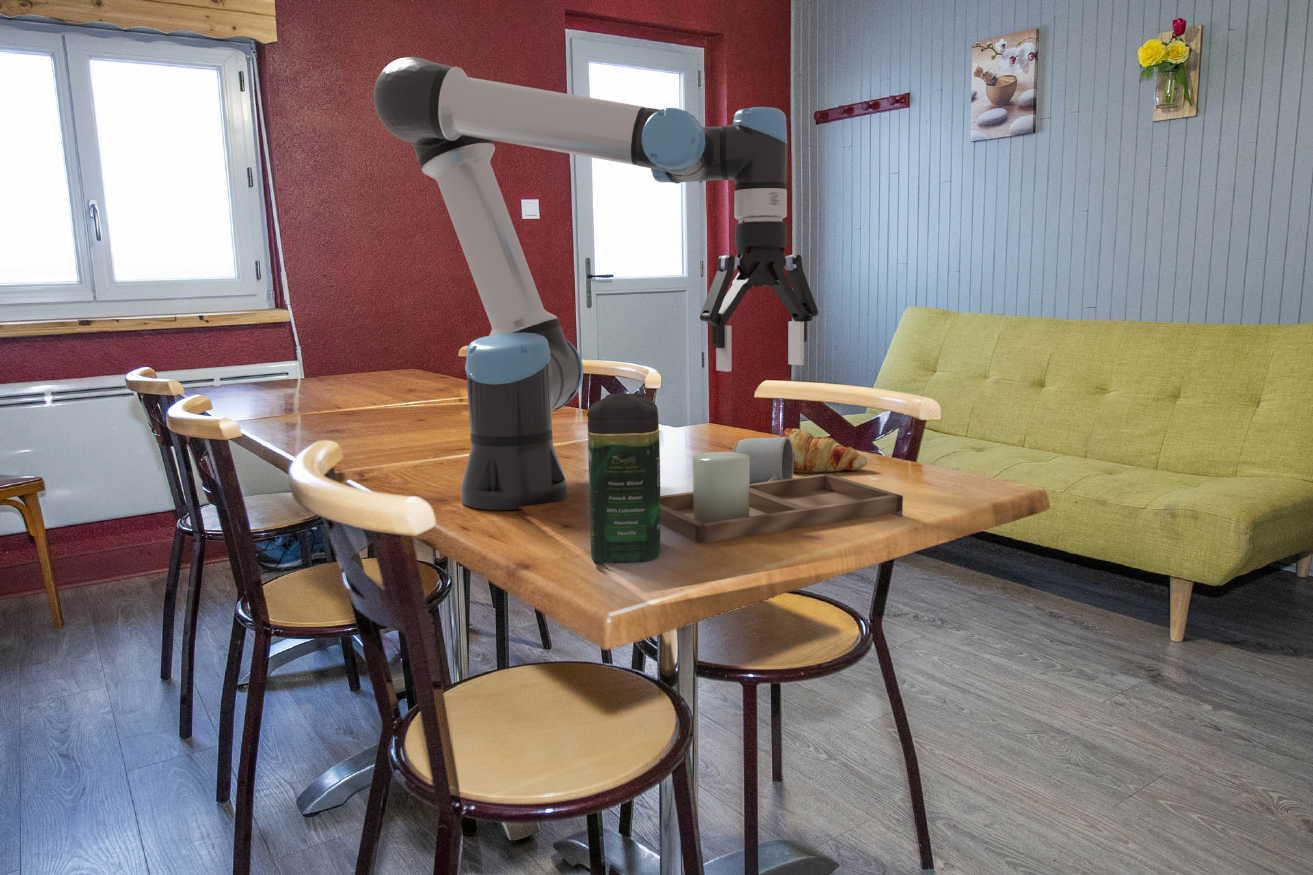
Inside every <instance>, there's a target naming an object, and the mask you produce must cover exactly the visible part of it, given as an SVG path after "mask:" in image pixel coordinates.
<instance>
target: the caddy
mask: <svg viewBox="0 0 1313 875" xmlns="http://www.w3.org/2000/svg"><path fill="white" fill-rule="evenodd" d="M903 502H904V496H903V495H901V494H898V493H895V492H891V491H888V490H884V489H881V488H878V487H874V486H871V485H868V484H864V483H860V482H857V481H853V480H850V479H847V478H843V477H840V476H837V475H833V474H830V473H823V474H815V475H808V476H807V475H806V476H800V477H793V478H791V479H783V480H776V481H768V482H761V483H754V484H750V517H744V518H737V519H730V520H724V521H717V522H711V523H704V524H703V523H700V522H698V521H696V520H694V508H693V491H688V492H681V493H680V492H679V493H674V494H665V495H660V526H663V527H664V528H667V529H669V530H671V531H673V532H675V533H676V534H678V535H680V536H682V537H684V538H686V539H688V540H690V541H692V542H694V543H697V544H699V545H703V544H709V543H710V544H711V543H716V542H720V541H721V542H723V541H729V540H733V539H735V540H736V539H741V538H747V537H753V536H758V535H759V536H760V535H764V534H765V535H766V534H770V533H771V534H772V533H777V532H783V531H790V530H797V529H802V528H808V527H814V526H820V525H826V524H834V523H838V522H840V523H841V522H845V521H852V520H858V519H863V518H869V517H875V516H883V515H890V514H891V515H894V516H898V517H900V518H903V512H904V511H903V510H904V508H903V504H904V503H903Z"/></svg>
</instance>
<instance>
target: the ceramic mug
mask: <svg viewBox="0 0 1313 875" xmlns="http://www.w3.org/2000/svg"><path fill="white" fill-rule="evenodd" d="M774 437H775V438H770V437H763V438H762V437H760V438H759V437H757V438H756V437H755V438H745V439H740V440H738V441H736V442H735V444H733V448H732V450H731V452H736V453H742V454H746V455H748V456H749V476H750V484H754V483H761V482H768V481H776V480H783V479H791V478H794V472H793V469H794V459H793V448H792V444H791V441H790V439H789V438H788V437H779V436H774Z"/></svg>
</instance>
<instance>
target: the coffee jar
mask: <svg viewBox="0 0 1313 875" xmlns="http://www.w3.org/2000/svg"><path fill="white" fill-rule="evenodd" d="M658 409H659V408H658V407H657V404H656V403H655V402H653V401H651V400H650V399H648V398H645V397H644V396H643V395H642V394H639V393H610V394H607V395H605V397H604V398H602V399H600V400H598V401H596V402H594V403H592V404H591V405H590V407H588V412H587V414H586V416H587V450H588V451H587V452H588V453H587V454H588V457H587V458H588V486H589V487H588V489H589V490H588V491H589V492H588V494H589V515H590V516H589V524H590V525H589V526H590V527H589V531H590V532H589V534H590V535H589V536H590V538H589V539H590V558H591V560H592V562H593V563H594V564H595V565H596V566H599V567H600V566H601V567H607V565H606V564H637V563H640V564H641V563H647V562H650V561H652V562H653V561H655V560H656V559H658V558H659V556H660V554H661V534H662V533H661V524H660V496H661V455H660V454H661V449H660V426H659V411H658Z"/></svg>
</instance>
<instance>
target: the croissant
mask: <svg viewBox="0 0 1313 875" xmlns="http://www.w3.org/2000/svg"><path fill="white" fill-rule="evenodd" d="M775 437H776V436H773V435H772V436H770V437H769V438H775ZM780 437H788V438H789V439H790V441H791V444H792V448H793V459H794V469H793V473H800V474H811V473H812V474H813V473H824V472H826V473H830V472H831V473H832V472H833V473H835V472H841V471H845V470H846V471H856V470H861V469H863V468H864V467H866V466H867V465H868V457H866V455H863V454H861V453H860V452H858V450H855V448H853V447H851V446H848V447H845V446H844V445H842V444H840V443H839V442H837V441H836V440H835V439H834V437H828V436H827V437H822V436H816V437H815V436H814V435H813V434H812V433H811V432H809V431H808V430H805V429H804V430H803V429H799V428H792V427H791V428H786V429H784V430H783V432H782V434H781V435H780Z"/></svg>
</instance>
